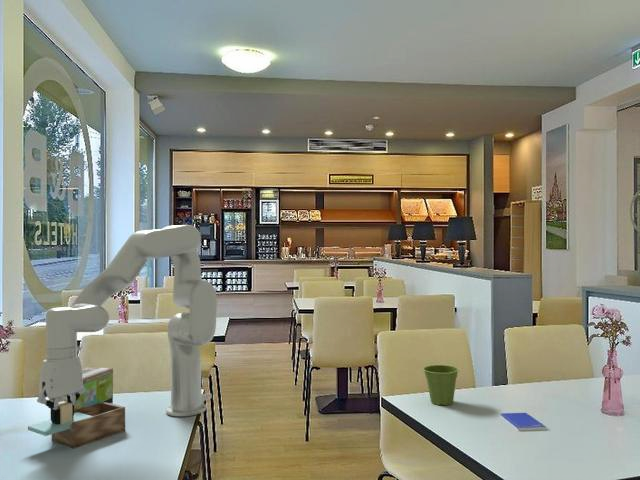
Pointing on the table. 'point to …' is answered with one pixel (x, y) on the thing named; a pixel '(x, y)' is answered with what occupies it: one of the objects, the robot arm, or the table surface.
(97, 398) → the tea box
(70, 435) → the walnut box
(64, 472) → the table surface
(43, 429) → the cover plate
